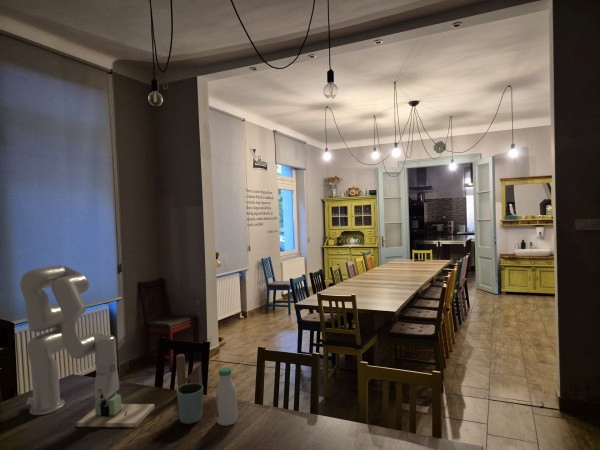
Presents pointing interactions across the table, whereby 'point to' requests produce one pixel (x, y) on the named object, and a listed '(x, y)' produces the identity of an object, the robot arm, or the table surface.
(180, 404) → the blue cup
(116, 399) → the block
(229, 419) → the milk bottle
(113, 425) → the birch board
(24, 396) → the table surface
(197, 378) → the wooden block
